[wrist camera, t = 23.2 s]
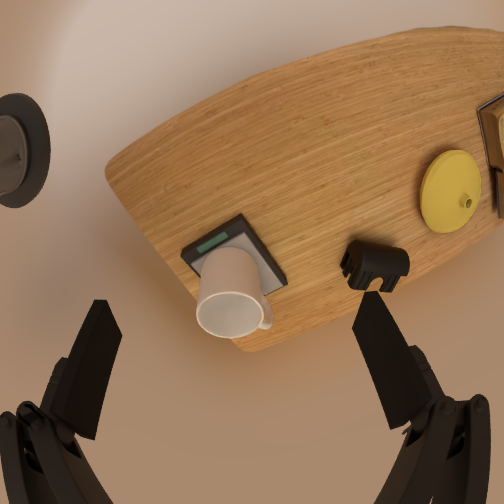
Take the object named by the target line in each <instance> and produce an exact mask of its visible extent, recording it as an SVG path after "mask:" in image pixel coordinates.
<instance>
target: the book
mask: <svg viewBox="0 0 504 504" xmlns="http://www.w3.org/2000/svg"><path fill="white" fill-rule="evenodd" d="M478 116H479V121H480V126H481V131H482V136H483V141H484V146H485V152H486V160H487V164H488V166H490V167H493V168H496V172H495V176H496V190H497V213H498V218H499V219H500V217H501V218H503V219H504V93H503V94H501V95H500V96H498V97H496V98H494V99H493V100H491V101H490V102H488V103H486V104H484V105H483V106H481V107H480V108H478Z"/></svg>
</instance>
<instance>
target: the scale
mask: <svg viewBox="0 0 504 504" xmlns="http://www.w3.org/2000/svg"><path fill="white" fill-rule="evenodd" d="M223 247H236V248H240V249H242V250H244V251H246V252H248V253H249V254H250V255H251V256H252V257H253V259H254V260H255V262H256V265H257V268H258V275H259V282H260V289H261V293H262V294H263V295H264V296H266V295H268V294H270V293H272V292H274V291H276V290H278V289H280V288H282V287H283V286H285V285H287V284H288V282H287V279H286V276H285V275H284V273H283V272H282V270H281V269H280V268H279V266H278V265H277V263H276V262H275V260H274V259H273V258H272V256H271V255H270V253H269V252H268V250H267V249H266V248H265V246H264V245H263V243H262V242H261V240H260V239H259V238H258V236H257V235H256V233H255V232H254V231H253V229H252V228H251V226H250V225H249V223H248V222H247V221H246V219H245V218H244V216H243V215H242V214H239V215H238V216H236V217H234V218H233V219H231V220H229V221H228V222H226V223H224V224H223V225H221V226H219V227H218V228H216V229H214V230H213V231H211V232H210V233H208V234H206V235H205V236H203V237H201V238H200V239H198V240H197V241H195V242H193V243H192V244H190V245H189V246H187V247H185V248H184V249H182V253H181V258H182V259H183V260H184V261H185V262H186V263H187V264H188V265H189V266H190V268H191V269H192V270H193V271H194V272H195V273H196V274H197V275H198V276H199V277H200V278H201V272H202V267H203V263H204V261H205V259H206V258H207V257H208V255H209V254H211V253H212V252H213V251H215V250H217V249H220V248H223Z"/></svg>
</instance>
